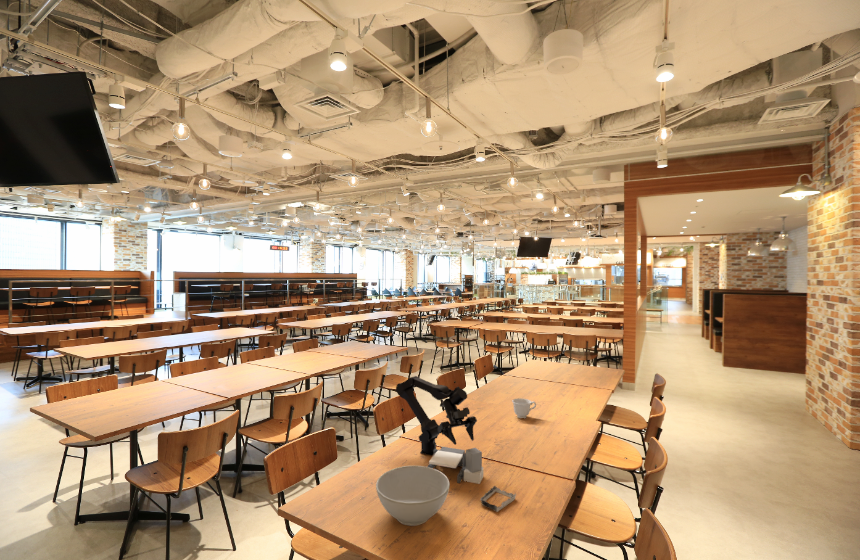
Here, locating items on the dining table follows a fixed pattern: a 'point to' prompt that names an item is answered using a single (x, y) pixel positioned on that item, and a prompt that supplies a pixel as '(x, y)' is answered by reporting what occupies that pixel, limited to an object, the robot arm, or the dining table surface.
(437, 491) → the decorative bowl
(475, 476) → the light grey block
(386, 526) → the dining table surface
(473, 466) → the stone
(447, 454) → the trapdoor
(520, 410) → the teacup
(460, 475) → the frame
